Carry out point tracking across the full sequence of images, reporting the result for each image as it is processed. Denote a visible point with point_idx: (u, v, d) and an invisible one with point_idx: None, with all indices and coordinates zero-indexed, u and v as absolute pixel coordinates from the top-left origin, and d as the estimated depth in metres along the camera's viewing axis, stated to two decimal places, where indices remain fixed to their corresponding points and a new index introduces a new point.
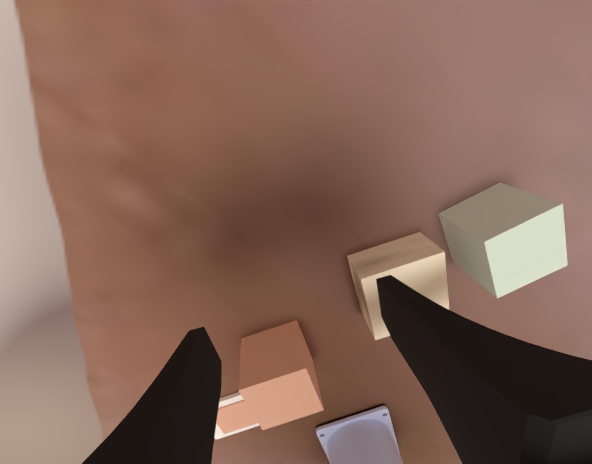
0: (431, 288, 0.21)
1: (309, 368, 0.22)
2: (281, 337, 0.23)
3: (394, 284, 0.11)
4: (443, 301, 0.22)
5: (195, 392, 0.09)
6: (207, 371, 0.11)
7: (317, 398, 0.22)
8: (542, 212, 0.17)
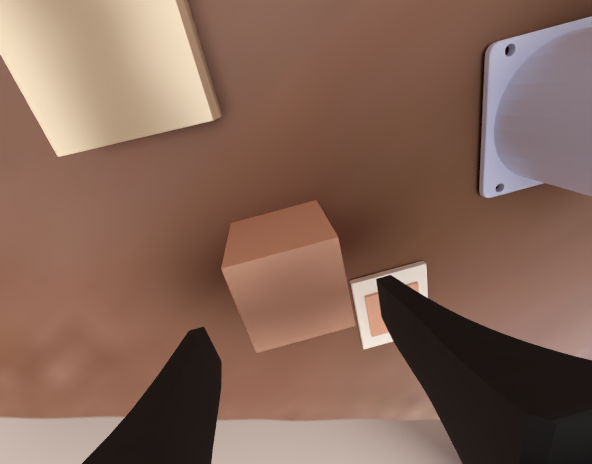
0: None
1: (261, 243, 0.13)
2: None
3: (394, 284, 0.11)
4: None
5: (195, 392, 0.09)
6: (207, 371, 0.11)
7: (302, 248, 0.12)
8: None
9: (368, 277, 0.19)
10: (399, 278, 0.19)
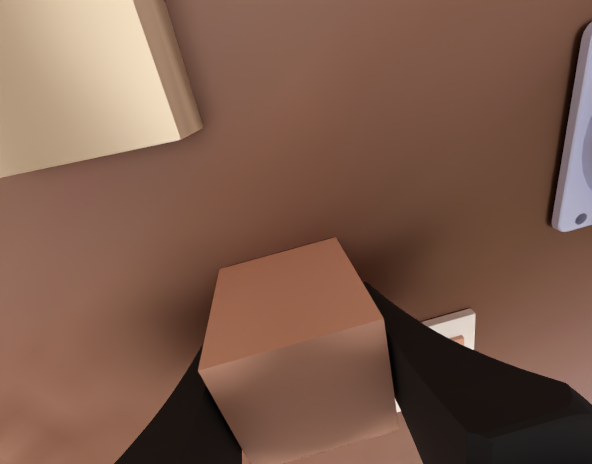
0: None
1: (261, 318, 0.09)
2: None
3: None
4: None
5: None
6: None
7: (327, 337, 0.08)
8: None
9: None
10: (440, 332, 0.15)
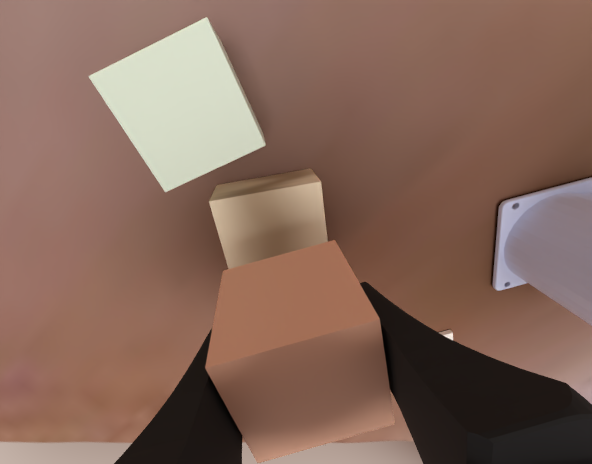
0: (265, 212, 0.16)
1: (264, 318, 0.09)
2: None
3: (367, 292, 0.10)
4: (291, 193, 0.16)
5: None
6: None
7: (326, 336, 0.08)
8: (109, 107, 0.12)
9: None
10: None
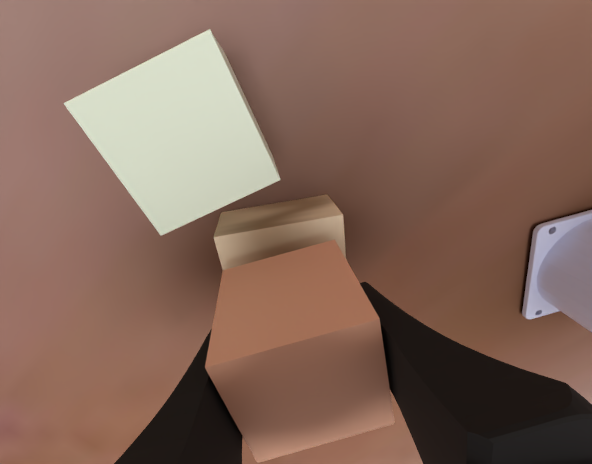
0: (278, 249, 0.14)
1: (263, 318, 0.09)
2: None
3: (367, 292, 0.10)
4: (308, 228, 0.14)
5: None
6: None
7: (326, 336, 0.08)
8: (91, 139, 0.09)
9: None
10: None
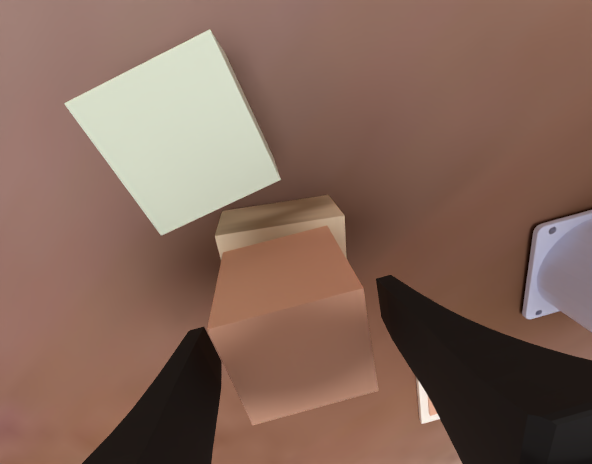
0: None
1: (260, 289, 0.10)
2: None
3: (394, 284, 0.11)
4: (310, 228, 0.14)
5: (195, 392, 0.09)
6: (207, 371, 0.11)
7: (315, 303, 0.09)
8: (91, 139, 0.09)
9: None
10: None
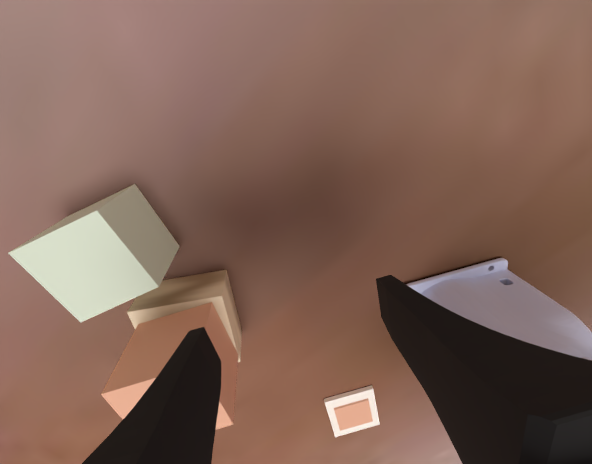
0: None
1: (143, 362, 0.16)
2: None
3: (394, 284, 0.11)
4: (197, 305, 0.19)
5: (195, 392, 0.09)
6: (207, 371, 0.11)
7: None
8: (28, 270, 0.15)
9: (336, 397, 0.29)
10: (356, 397, 0.29)
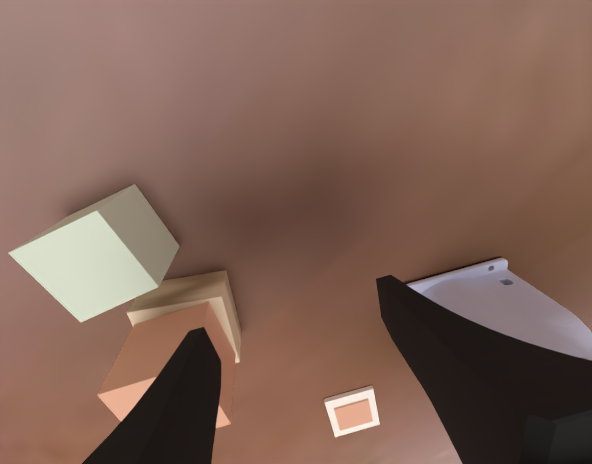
0: None
1: (140, 362, 0.15)
2: None
3: (394, 284, 0.11)
4: None
5: (195, 392, 0.09)
6: (207, 371, 0.11)
7: None
8: (27, 270, 0.15)
9: (336, 397, 0.29)
10: (356, 397, 0.29)
